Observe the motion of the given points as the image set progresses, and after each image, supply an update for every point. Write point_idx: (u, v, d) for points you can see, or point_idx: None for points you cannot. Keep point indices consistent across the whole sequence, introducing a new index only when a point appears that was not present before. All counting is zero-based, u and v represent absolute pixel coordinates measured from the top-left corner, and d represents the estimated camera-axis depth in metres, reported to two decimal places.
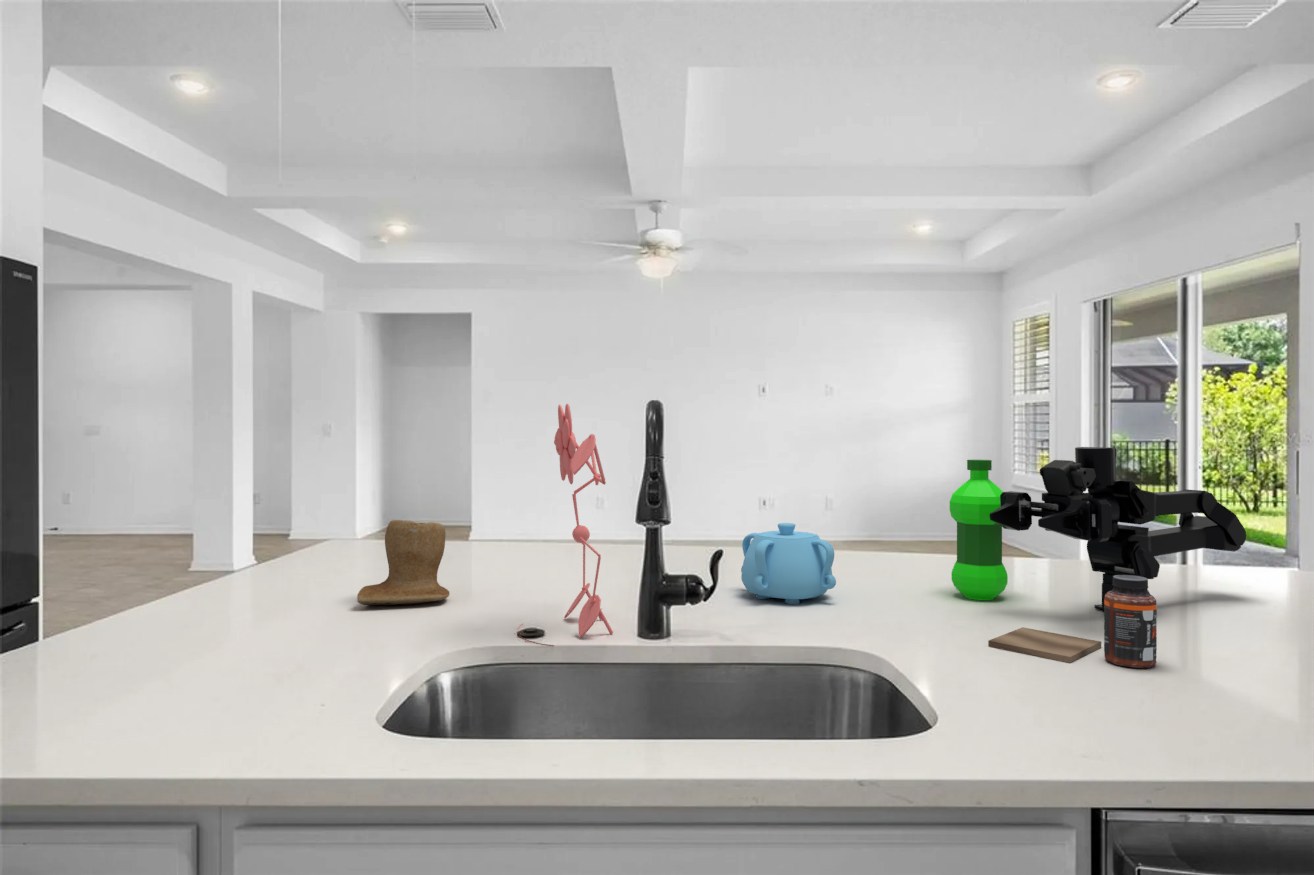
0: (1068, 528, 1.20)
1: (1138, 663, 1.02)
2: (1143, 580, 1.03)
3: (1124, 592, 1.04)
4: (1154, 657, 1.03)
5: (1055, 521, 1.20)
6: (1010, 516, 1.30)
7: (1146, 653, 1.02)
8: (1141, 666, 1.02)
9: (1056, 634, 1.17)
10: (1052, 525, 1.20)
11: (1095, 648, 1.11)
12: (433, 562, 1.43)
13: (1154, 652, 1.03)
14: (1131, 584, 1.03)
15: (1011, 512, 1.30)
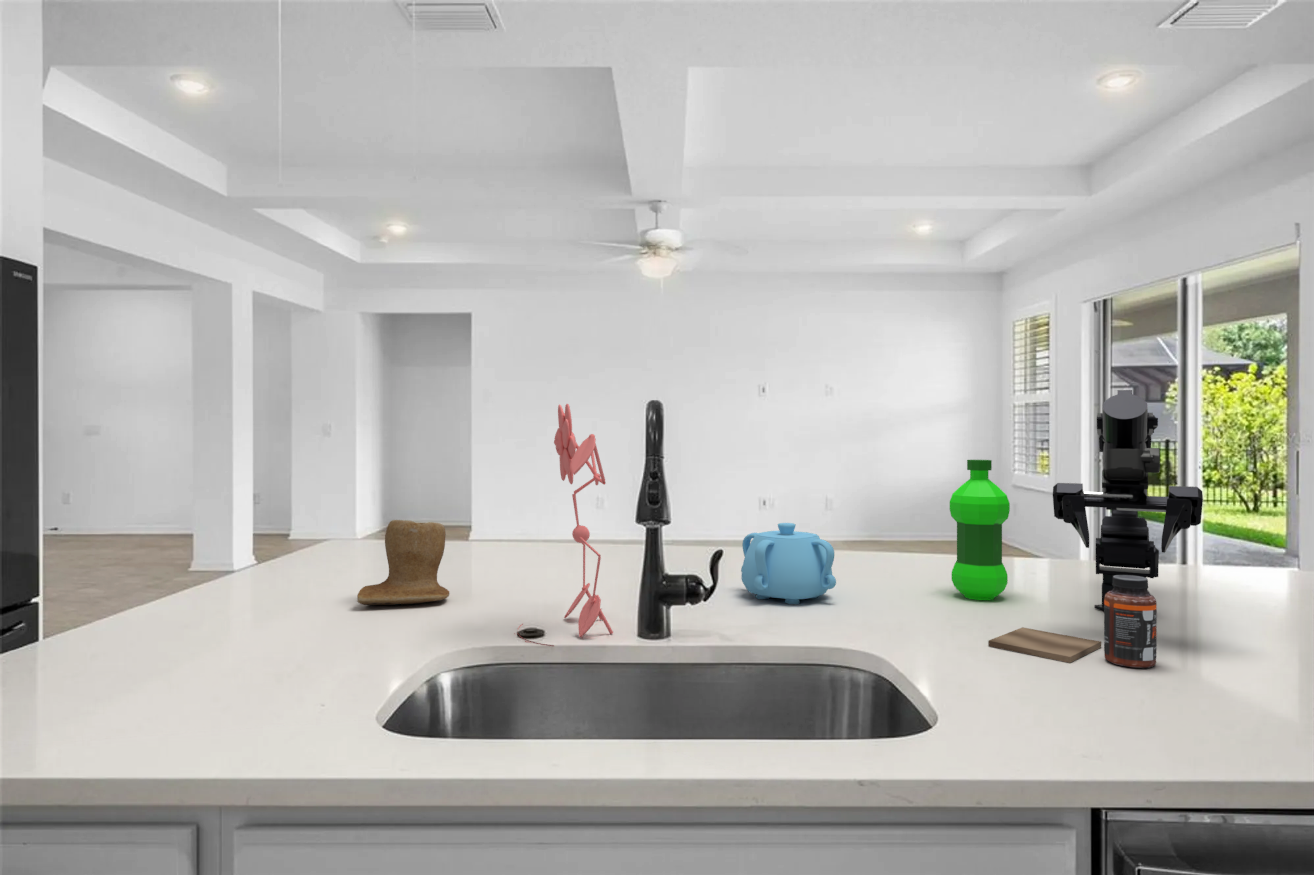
0: (1173, 531, 1.13)
1: (1138, 663, 1.02)
2: (1143, 580, 1.03)
3: (1124, 592, 1.04)
4: (1154, 657, 1.03)
5: (1170, 537, 1.11)
6: None
7: (1146, 653, 1.02)
8: (1141, 666, 1.02)
9: (1056, 634, 1.17)
10: (1169, 542, 1.11)
11: (1095, 648, 1.11)
12: (433, 562, 1.43)
13: (1154, 652, 1.03)
14: (1131, 584, 1.03)
15: None
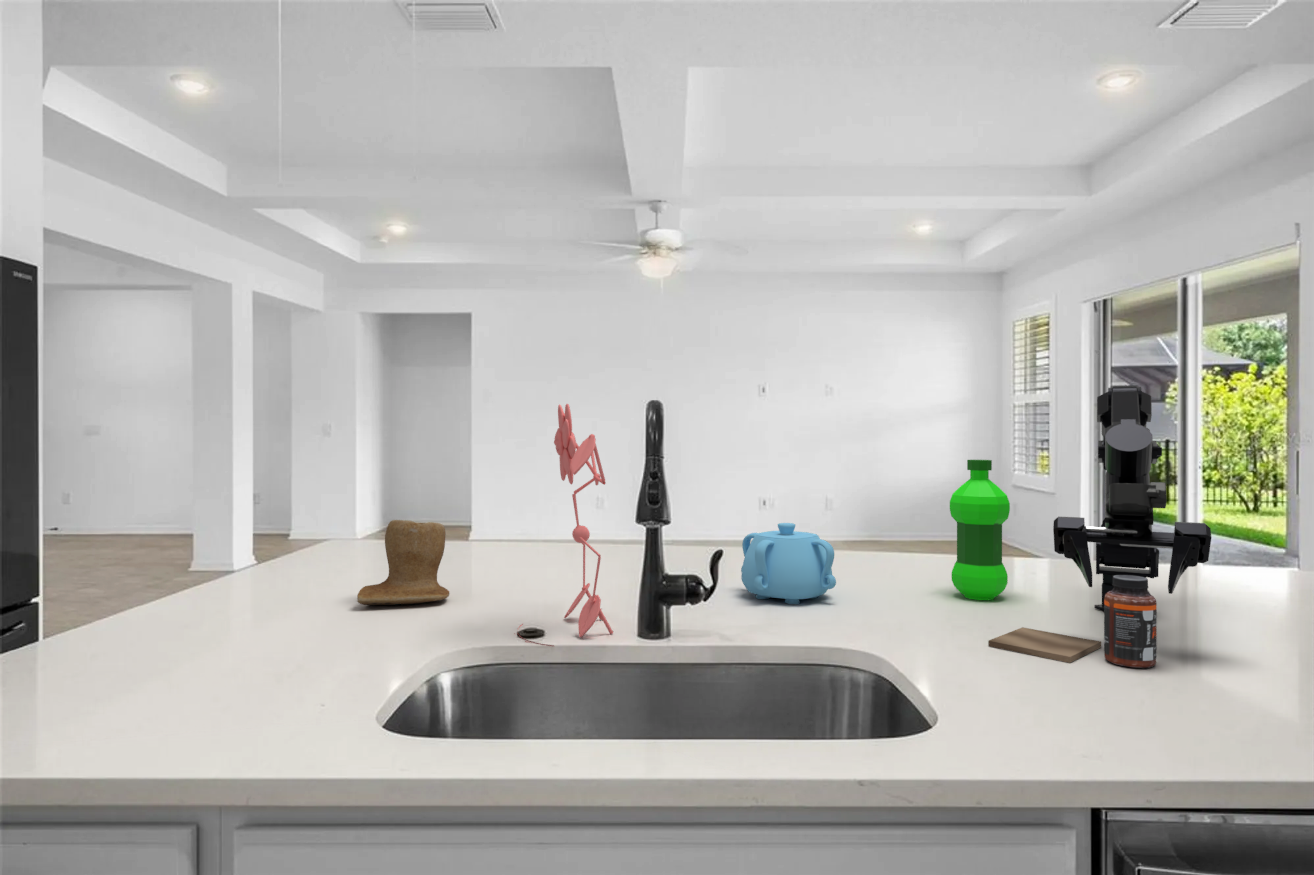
0: (1180, 570, 1.07)
1: (1138, 663, 1.02)
2: (1143, 580, 1.03)
3: (1124, 592, 1.04)
4: (1154, 657, 1.03)
5: (1177, 577, 1.06)
6: None
7: (1146, 653, 1.02)
8: (1141, 666, 1.02)
9: (1056, 634, 1.17)
10: (1176, 582, 1.06)
11: (1095, 648, 1.11)
12: (433, 562, 1.43)
13: (1154, 652, 1.03)
14: (1131, 584, 1.03)
15: None
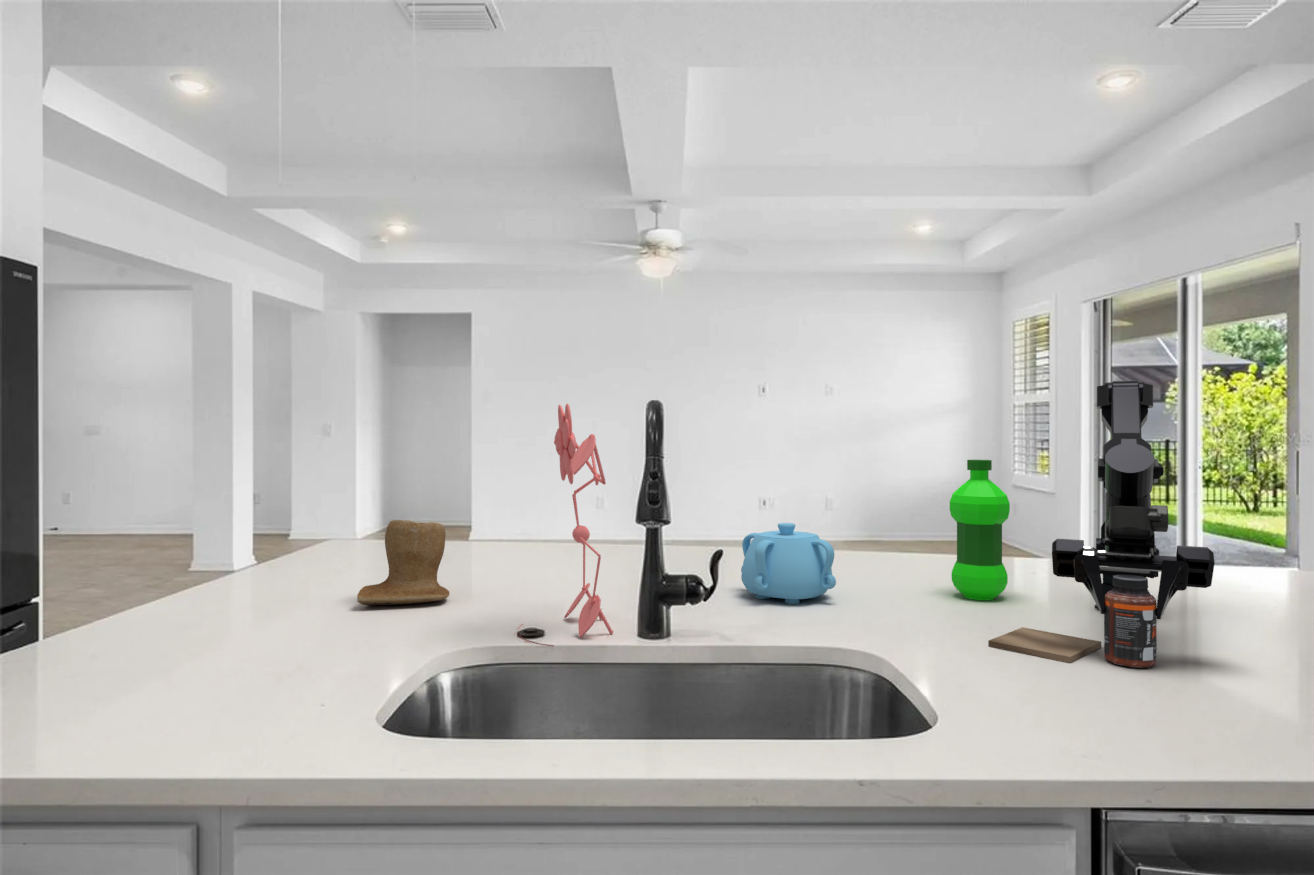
0: (1169, 594, 1.05)
1: (1138, 663, 1.02)
2: (1143, 580, 1.03)
3: (1124, 591, 1.04)
4: (1154, 657, 1.03)
5: (1166, 602, 1.03)
6: None
7: (1146, 653, 1.02)
8: (1141, 666, 1.02)
9: (1056, 634, 1.17)
10: (1164, 607, 1.03)
11: (1095, 648, 1.11)
12: (433, 562, 1.43)
13: (1154, 652, 1.03)
14: (1131, 584, 1.03)
15: None
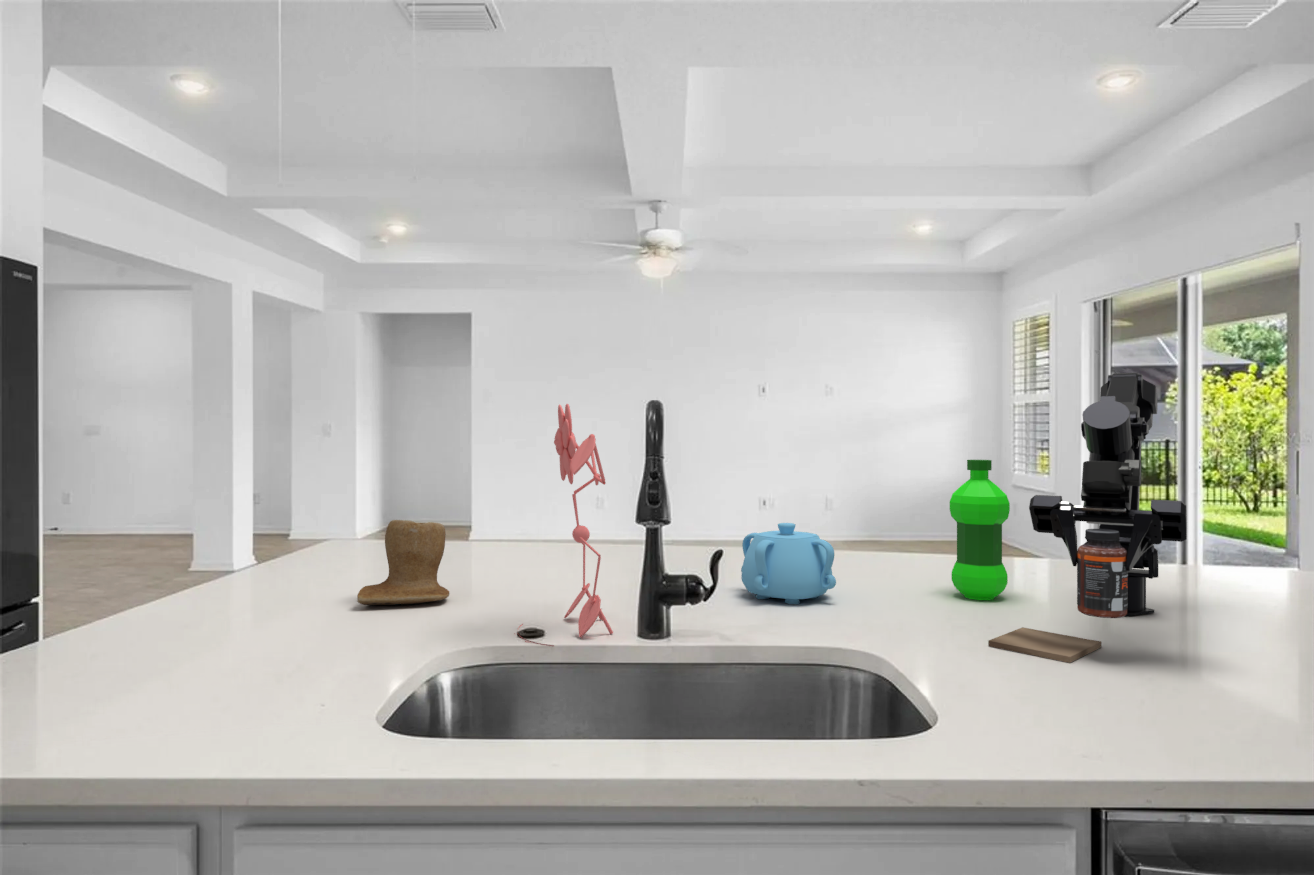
0: (1142, 547, 1.07)
1: (1107, 613, 1.05)
2: (1113, 532, 1.05)
3: (1094, 544, 1.06)
4: (1124, 608, 1.05)
5: (1136, 554, 1.05)
6: None
7: (1115, 603, 1.04)
8: (1110, 616, 1.05)
9: (1056, 634, 1.17)
10: (1135, 559, 1.05)
11: (1095, 648, 1.11)
12: (433, 562, 1.43)
13: (1123, 602, 1.05)
14: (1101, 537, 1.06)
15: (1075, 534, 1.11)
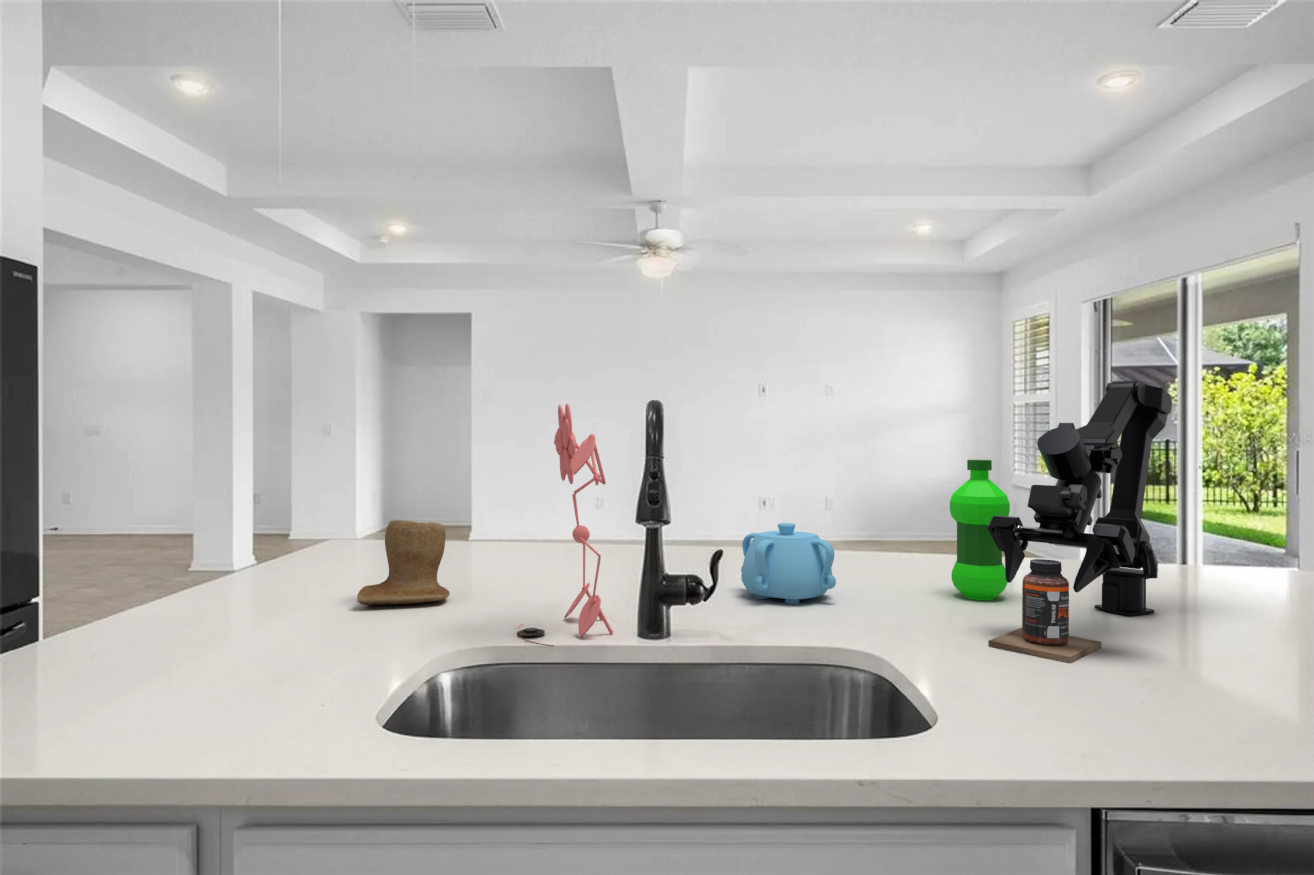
0: (1097, 570, 1.10)
1: (1043, 640, 1.10)
2: (1052, 564, 1.11)
3: (1034, 573, 1.12)
4: (1061, 636, 1.10)
5: (1086, 576, 1.09)
6: (1017, 557, 1.18)
7: (1051, 631, 1.10)
8: (1046, 643, 1.10)
9: None
10: (1086, 582, 1.09)
11: (1095, 648, 1.11)
12: (433, 562, 1.43)
13: (1060, 631, 1.10)
14: (1040, 567, 1.12)
15: (1016, 553, 1.18)
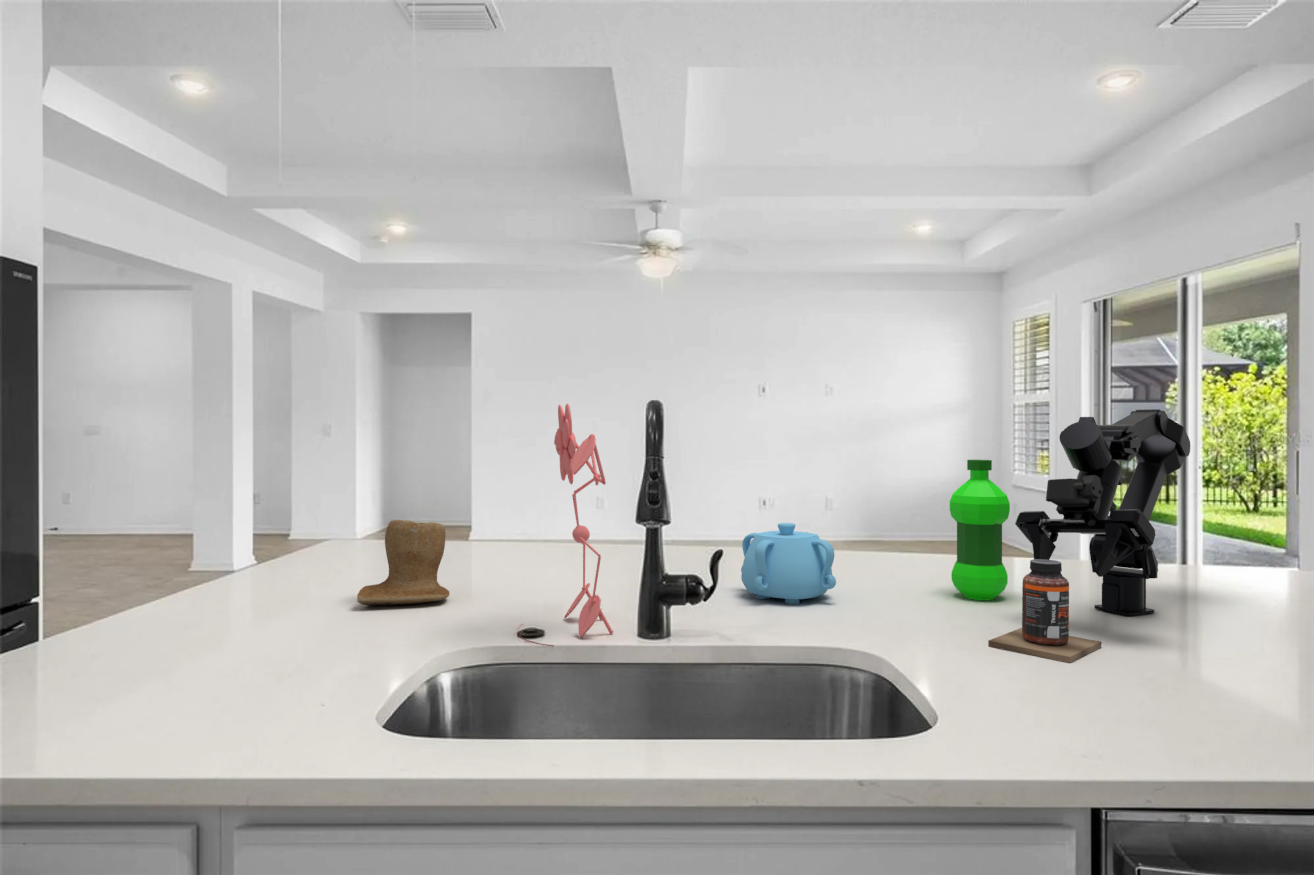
0: (1119, 554, 1.16)
1: (1043, 640, 1.10)
2: (1052, 564, 1.11)
3: (1034, 573, 1.12)
4: (1061, 636, 1.10)
5: (1108, 561, 1.15)
6: (1045, 549, 1.25)
7: (1051, 631, 1.10)
8: (1046, 643, 1.10)
9: None
10: (1108, 566, 1.15)
11: (1095, 648, 1.11)
12: (433, 562, 1.43)
13: (1060, 631, 1.10)
14: (1040, 567, 1.12)
15: (1044, 545, 1.25)
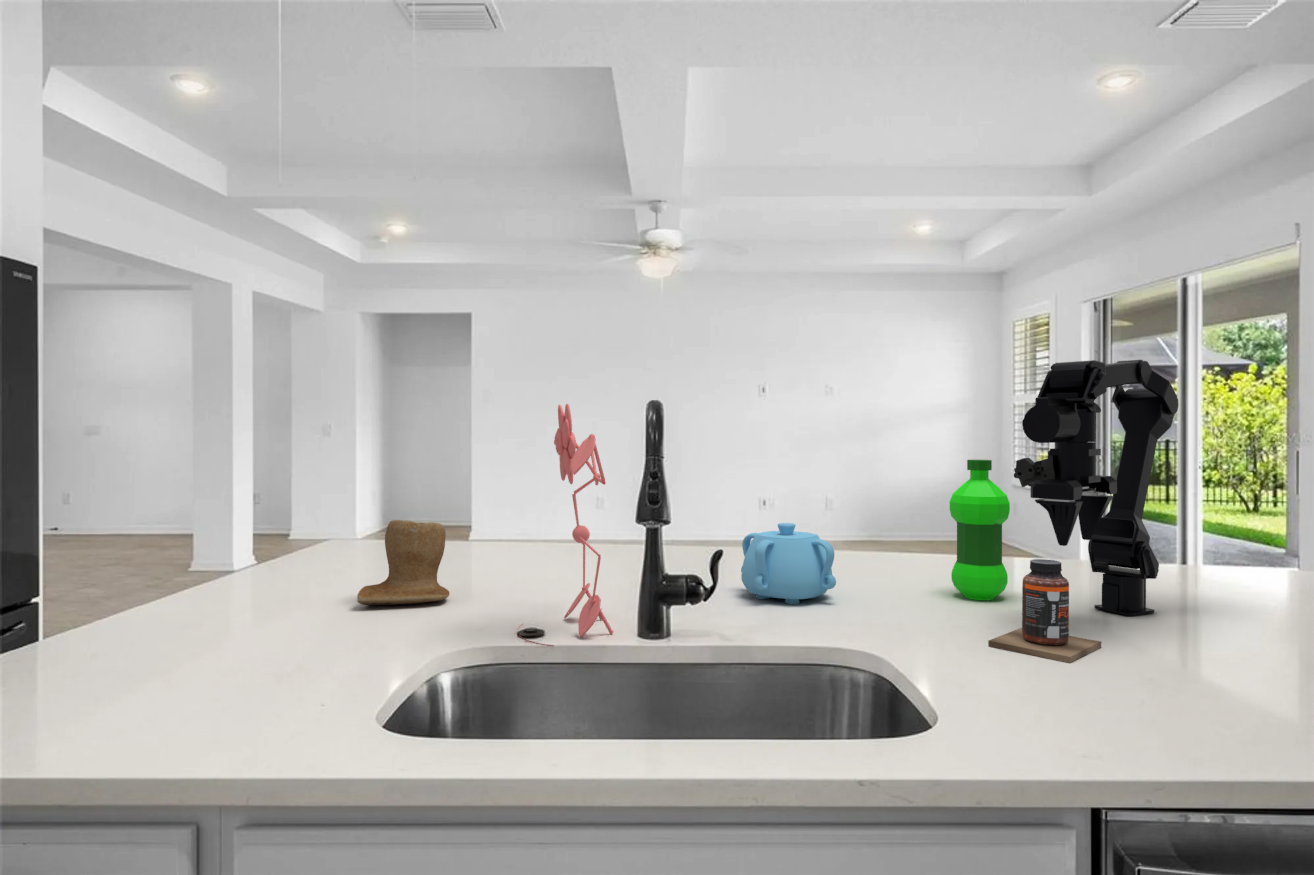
0: (1066, 517, 1.20)
1: (1043, 640, 1.10)
2: (1052, 564, 1.11)
3: (1034, 573, 1.12)
4: (1061, 636, 1.10)
5: (1059, 530, 1.21)
6: (1089, 510, 1.27)
7: (1051, 631, 1.10)
8: (1046, 643, 1.10)
9: None
10: (1064, 533, 1.21)
11: (1095, 648, 1.11)
12: (433, 562, 1.43)
13: (1060, 631, 1.10)
14: (1040, 567, 1.12)
15: (1085, 508, 1.28)
